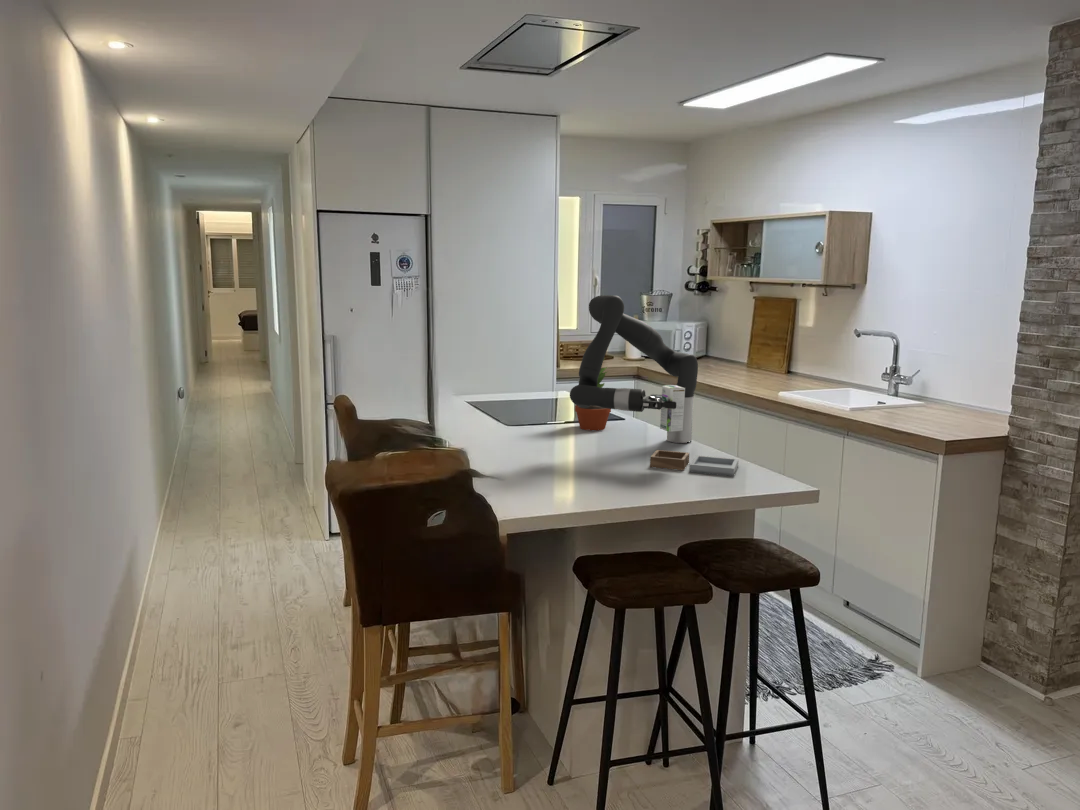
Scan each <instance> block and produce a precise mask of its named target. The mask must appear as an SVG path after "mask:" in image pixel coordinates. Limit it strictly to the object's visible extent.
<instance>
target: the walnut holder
mask: <svg viewBox="0 0 1080 810" xmlns="http://www.w3.org/2000/svg"><path fill="white" fill-rule="evenodd" d="M649 459H650V460H649V467H650V468H653V467H656V468H655V469H663V468H667V469H666V470H674V469H677V470H676V471H684V470H685V469H686V468H687V466H688V465H689V464H690V452H686V451H675V450H674V451H673V450H662V449H656V450H655V451H654V452H653V453H652V454H651V456H650V457H649ZM688 463H689V464H688ZM685 467H686V468H685Z"/></svg>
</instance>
